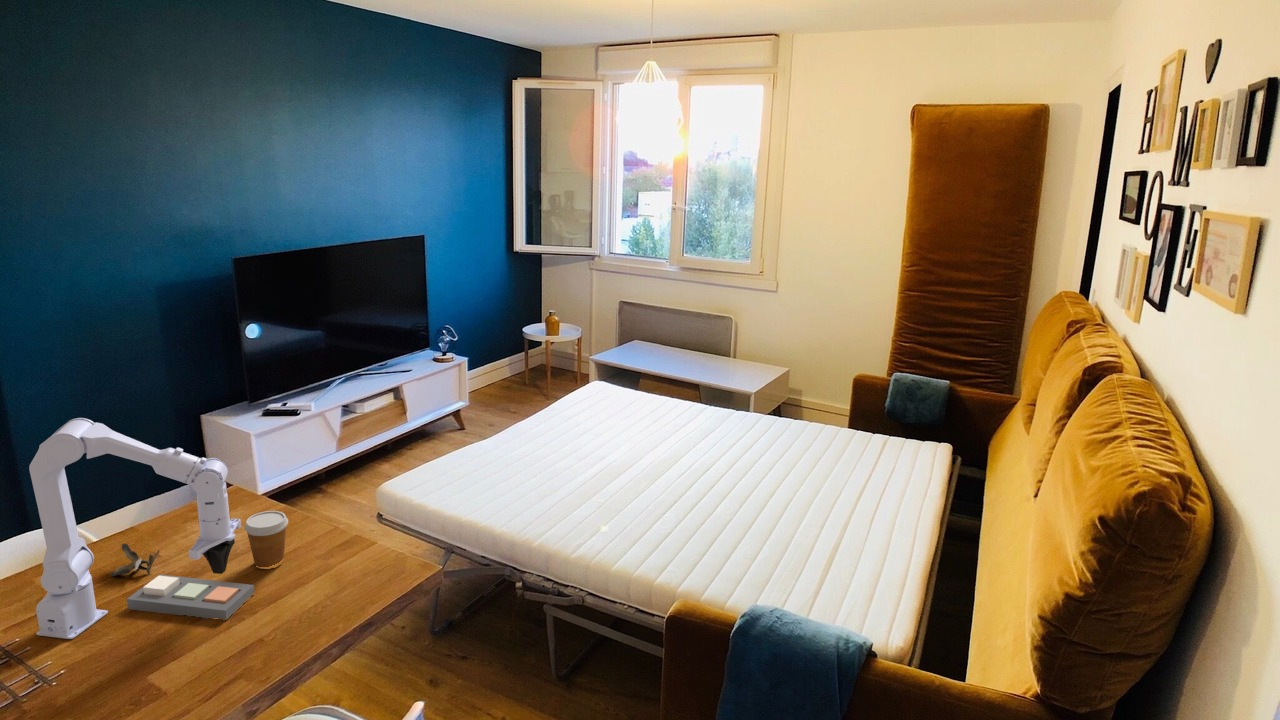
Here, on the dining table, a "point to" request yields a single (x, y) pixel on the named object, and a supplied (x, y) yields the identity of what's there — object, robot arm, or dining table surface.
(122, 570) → the eagle figurine
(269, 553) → the disposable coffee cup
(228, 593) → the terracotta key
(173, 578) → the ivory key
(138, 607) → the key frame
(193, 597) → the sage key
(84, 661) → the dining table surface
